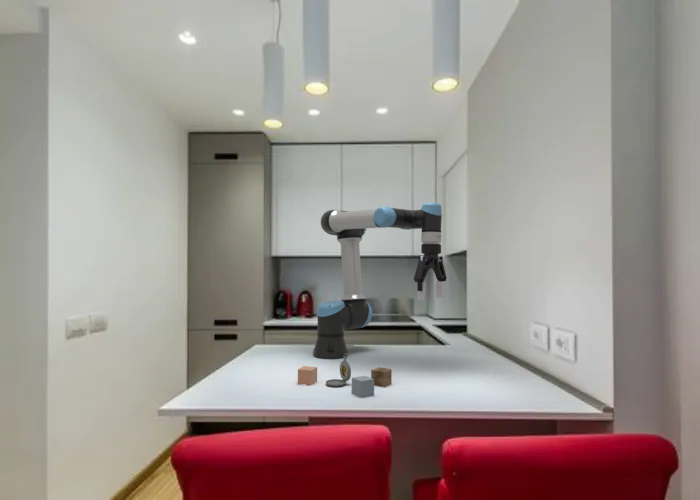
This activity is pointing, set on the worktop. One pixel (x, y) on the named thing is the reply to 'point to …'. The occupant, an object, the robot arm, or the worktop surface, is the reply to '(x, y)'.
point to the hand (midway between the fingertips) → (430, 298)
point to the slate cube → (362, 386)
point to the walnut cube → (381, 376)
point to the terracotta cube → (307, 375)
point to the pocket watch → (344, 371)
